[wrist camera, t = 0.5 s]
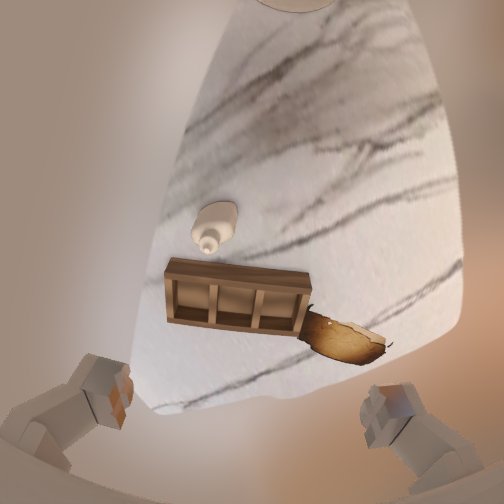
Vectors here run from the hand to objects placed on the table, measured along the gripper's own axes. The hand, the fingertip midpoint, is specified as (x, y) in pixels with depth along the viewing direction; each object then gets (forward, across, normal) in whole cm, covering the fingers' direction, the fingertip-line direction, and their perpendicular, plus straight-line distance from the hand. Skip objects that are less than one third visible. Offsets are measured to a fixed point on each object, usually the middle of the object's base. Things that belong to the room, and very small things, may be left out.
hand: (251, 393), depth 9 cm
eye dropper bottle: (+37, +5, +5) cm, 38 cm away
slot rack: (+39, +1, +19) cm, 43 cm away
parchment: (+40, -21, +29) cm, 54 cm away
